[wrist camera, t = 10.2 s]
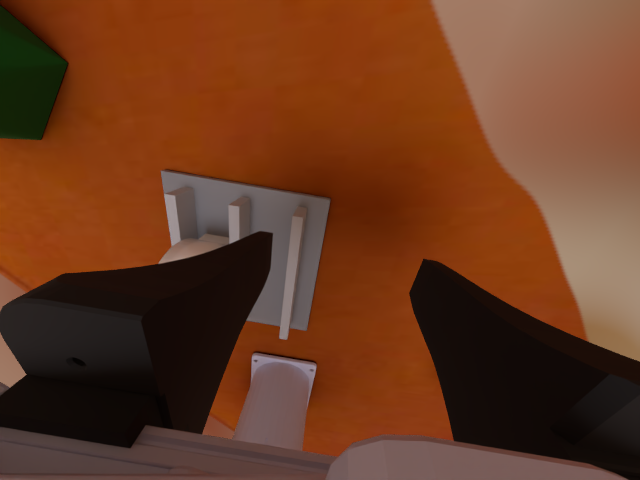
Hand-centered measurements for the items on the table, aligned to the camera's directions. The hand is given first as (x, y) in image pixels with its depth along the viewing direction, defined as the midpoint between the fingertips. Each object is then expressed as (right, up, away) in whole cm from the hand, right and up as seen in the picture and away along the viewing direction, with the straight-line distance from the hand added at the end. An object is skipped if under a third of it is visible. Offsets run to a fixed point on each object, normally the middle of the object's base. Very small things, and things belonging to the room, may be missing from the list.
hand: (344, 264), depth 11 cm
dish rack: (-8, -1, +11) cm, 14 cm away
